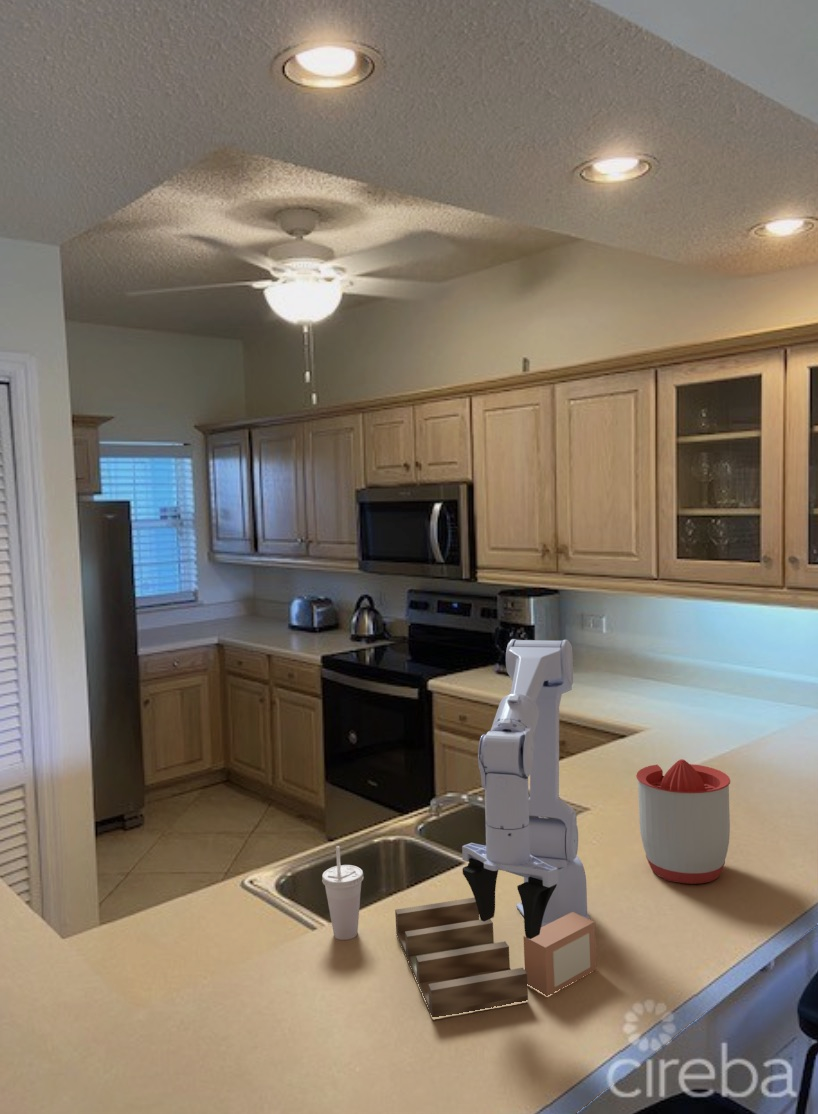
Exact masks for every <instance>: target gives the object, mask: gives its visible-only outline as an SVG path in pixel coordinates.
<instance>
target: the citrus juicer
mask: <svg viewBox="0 0 818 1114" xmlns="http://www.w3.org/2000/svg"><path fill="white" fill-rule="evenodd" d="M635 777H636V779H637V787H638V788H637V789H638V794H637V795H638V818H639V819H638V821H639V831H640V837H641V841H642V846H643V851H644V853H645V858H646V860H647V862H648V864H649V866H650V869H651V871H652V872H653V873H654V874H655V875H657V876H659V877H660V878H662V879H664V880H666V881H668V882H675V883H681V884H691V885H692V884H693V885H694V884H696V885H697V884H704V883H709V882H714V880H717V879H718V878H719V877H720V875H721V873H722V871H723V869H724V866H725V864H726V858H727V855H728V850H729V845H730V833H731V832H730V831H731V824H730V823H731V820H730V787H729V786H730V784H731V779H730V776H728V775H727V774H726V773H725V772H723V771H721V770H720V769H719V770H718V769H716V768H713V767H709V766H705V765H700V764H692V763H689V762H688V761H686V760H685V759H682V758H681V759H679V760H678V761H677V760H676V762H675V763H674V764H673V765H672V766H670V768H669V769H668V770H667V771H666V773H665V774H664V772H663V768H661V766H660V765H658V764H654V765H648V766H645V767H642V768H640V769H639V770H638V771H637V773H636V775H635Z"/></svg>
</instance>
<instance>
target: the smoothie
mask: <svg viewBox="0 0 818 1114" xmlns="http://www.w3.org/2000/svg"><path fill="white" fill-rule="evenodd" d="M340 848H341V847H340V845H336V846H335V851H336V853H335V856H336V865H335V866H331V867H330V868H328V869H326V870H325V871H323V873H322V880H321V883H322V884H323V885H324V886H325V887H324V888H325V894H326V899H327V903H328V904H327V905H328V910H329V915H330V916H329V917H330V921H331V925H332V926H331V927H332V931H333V932H332V933H333V937H334V938H335V939H336V940H341V941H347V940H351V939H354V938H356V936H357V935H358V931H359V918H360V903H361V892H362V891H361V889H362V881H364V872H363V869H361V868H360V867H359V866H356V865H352V864H342V865H341V849H340Z"/></svg>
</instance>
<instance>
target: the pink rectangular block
mask: <svg viewBox="0 0 818 1114" xmlns="http://www.w3.org/2000/svg"><path fill="white" fill-rule="evenodd" d="M595 924H596V923H595V921H593V920H592V919H587V918H585V917H583V916H581V915H578V914H576V913H574V912H571V913H569V914H567V915H565V916H563V917H561V918H559V919H557V920H555V921H553V922H551V923H549V924H547V925H545V926H543V927H541V930H540V935H538V936H536V937H534V938H532V939H529V938H526V935H523V955H524V956H523V957H524V970H525V971H526V973H527V984H528V985H530V986H532V987H533V988H535V989H537V990H539V991H540V992H542V993H543V994H545V995H546V996H548V995H550V994H553V993H554V992H555V991H558V990H559V989H562V988H563V987H565V986H567V985H569V984H571V983H572V982H575V981H576V980H578V979H580V978H582V977H583V976H585V975H587V974H589V973H590V972H592V971H594V970H595V971H597V952H596V950H597V949H596V927H595V926H596V925H595ZM595 971H594V972H595ZM592 973H593V972H592ZM590 974H591V973H590ZM590 974H589V975H590ZM587 976H588V975H587ZM585 977H586V976H585ZM583 978H584V977H583ZM583 978H582V979H583ZM580 980H581V979H580ZM578 981H579V980H578ZM576 982H577V981H576ZM576 982H575V983H576ZM571 985H572V984H571ZM569 986H570V985H569ZM562 990H563V989H562Z"/></svg>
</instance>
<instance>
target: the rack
mask: <svg viewBox="0 0 818 1114" xmlns="http://www.w3.org/2000/svg"><path fill="white" fill-rule="evenodd" d="M394 911H395V913H394V914H395V930H396V934H397V935H396V937H397V936H398V937H397V940H398V939H399V940H398V942H399V941H400V942H399V944H400V943H401V945H400V946H402V947H401V949H402V948H403V949H402V951H403V950H404V952H405V954H406V956H405V958H406V957H407V959H408V961H409V964H410V966H411V968H412V970H413V973H414V975H415V977H416V980H417V982H418V984H419V987H420V989H421V991H422V993H423V996H424V998H425V1000H426V1003H427V1005H428V1008H429V1011H430V1013H431V1015H432V1017H439V1016H446V1015H452V1014H459V1013H463V1012H469V1011H475V1010H480V1009H485V1008H491V1007H492V1008H493V1007H494V1006H496V1007H497V1006H502V1005H506V1004H511V1003H514V1002H522V1001H526V1000H528V1001H529V991H528V990H529V989H528V988H529V987H528V986H527V973H526V971H525V967H518V968H512V969H511V965H510V946H509V945H508V943H507V942H506V941H500V942H495V941H494V923H493V921H492V918H491V919H489V920H487V921H481V919H480V915H479V911H478V908H477V904H476V901H475V898H474V897H469V898H461V899H455V900H450V901H443V902H442V901H441V902H435V903H429V904H424V905H418V906H411V907H404V908H397V909H395V910H394ZM404 952H403V953H404ZM405 954H404V955H405ZM407 959H406V960H407ZM408 961H407V962H408ZM409 964H408V965H409ZM410 966H409V967H410ZM411 968H410V969H411ZM413 973H412V974H413ZM414 975H413V976H414ZM416 980H415V981H416ZM419 987H418V988H419ZM429 1011H428V1012H429ZM430 1013H429V1014H430Z"/></svg>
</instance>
